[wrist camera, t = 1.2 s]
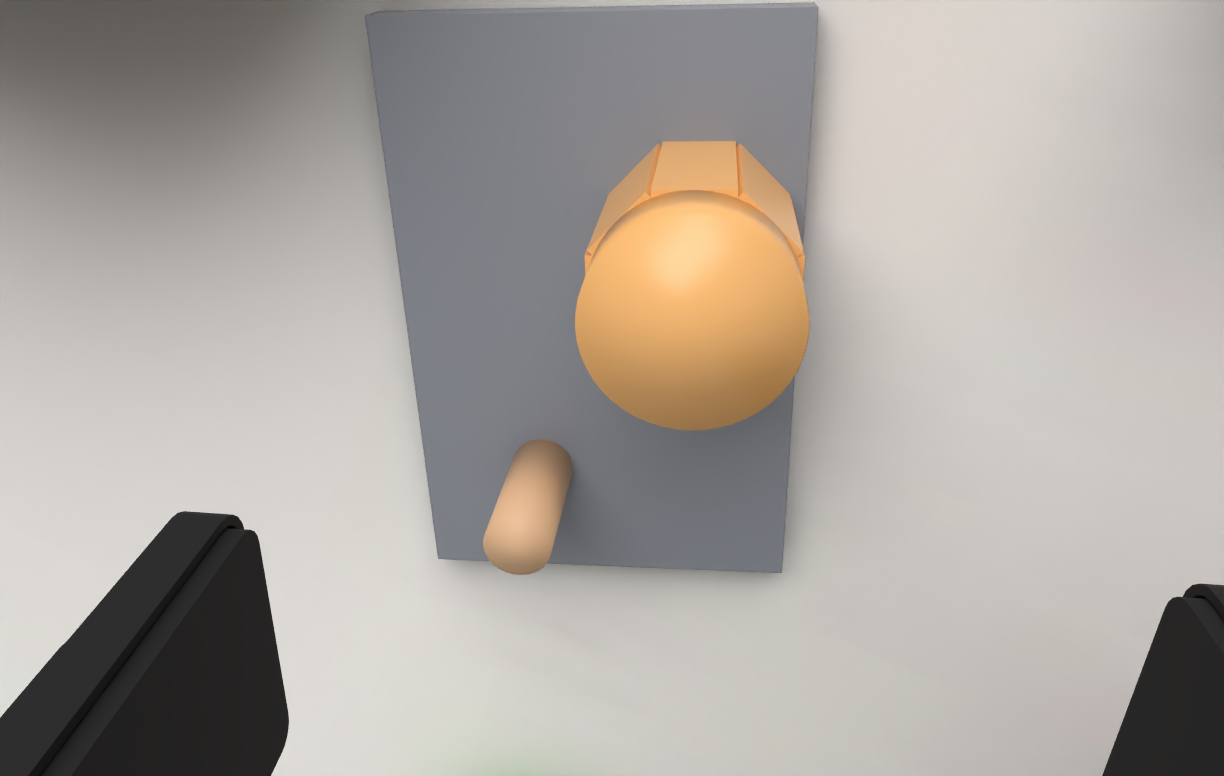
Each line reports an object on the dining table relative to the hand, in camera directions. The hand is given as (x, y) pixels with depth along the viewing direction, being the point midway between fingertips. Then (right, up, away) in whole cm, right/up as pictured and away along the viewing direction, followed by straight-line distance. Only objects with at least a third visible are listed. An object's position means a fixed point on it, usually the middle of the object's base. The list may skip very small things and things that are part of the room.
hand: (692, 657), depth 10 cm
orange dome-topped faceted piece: (+2, +7, +17) cm, 19 cm away
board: (-1, +5, +20) cm, 21 cm away
